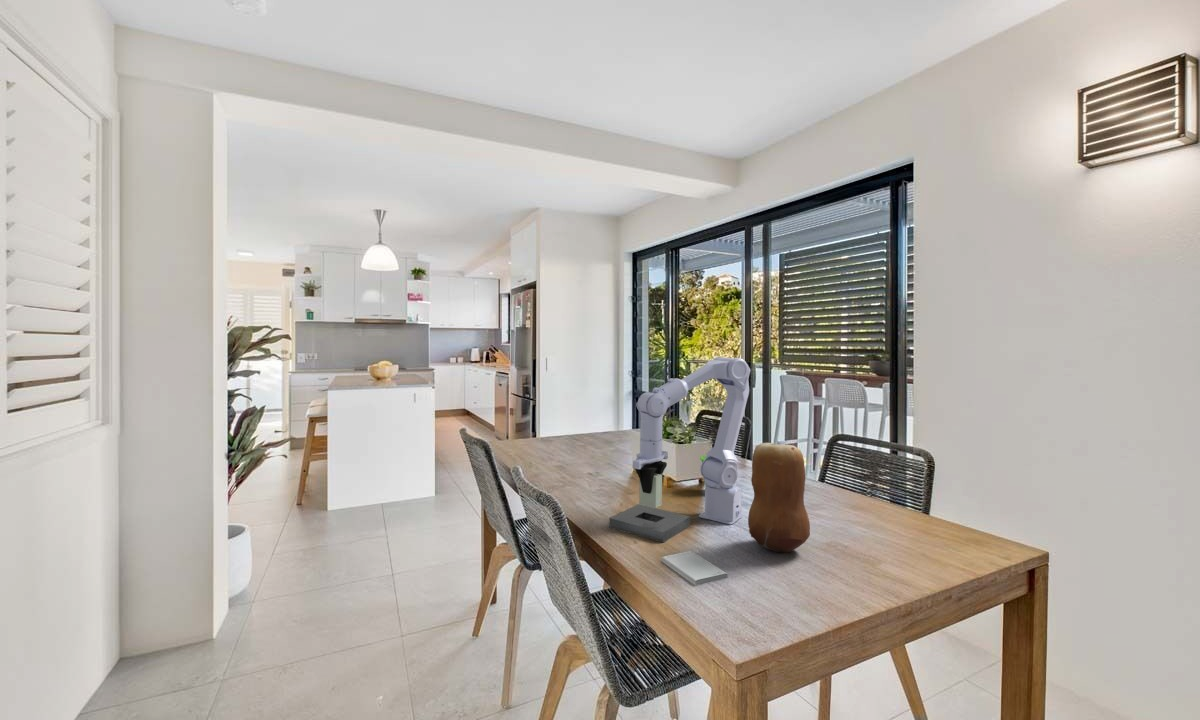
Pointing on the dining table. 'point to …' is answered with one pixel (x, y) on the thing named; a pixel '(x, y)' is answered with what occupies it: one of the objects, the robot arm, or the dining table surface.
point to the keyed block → (652, 493)
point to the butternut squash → (778, 498)
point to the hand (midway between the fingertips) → (650, 491)
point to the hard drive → (694, 568)
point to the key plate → (650, 522)
